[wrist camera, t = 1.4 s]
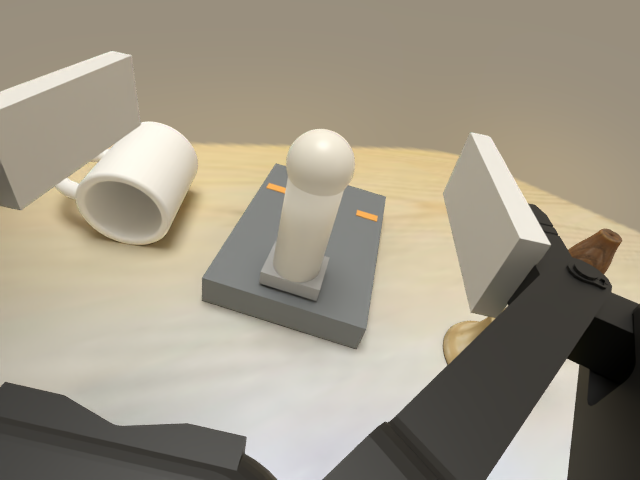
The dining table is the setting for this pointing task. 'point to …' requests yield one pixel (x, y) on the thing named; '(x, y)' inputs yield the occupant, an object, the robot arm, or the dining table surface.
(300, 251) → the lever
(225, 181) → the dining table surface
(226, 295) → the console
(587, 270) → the robot arm
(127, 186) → the mug
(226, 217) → the dining table surface
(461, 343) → the hand bell
